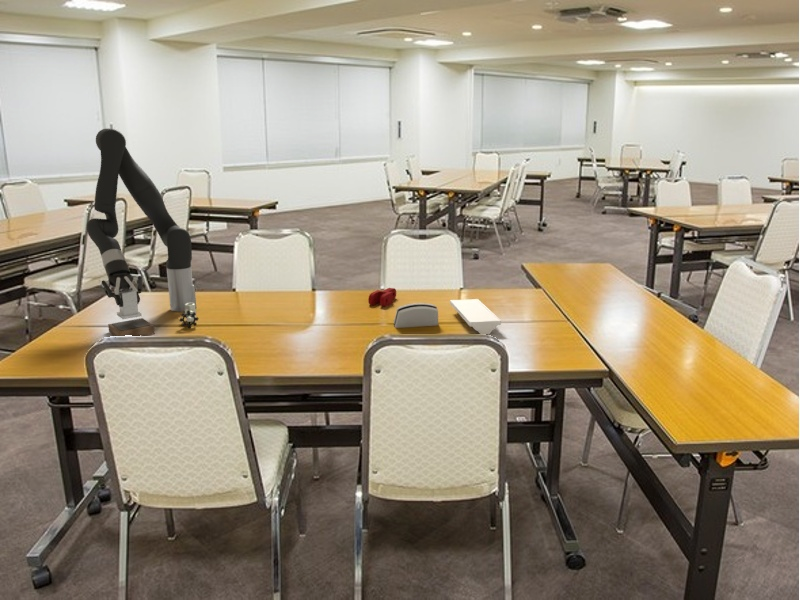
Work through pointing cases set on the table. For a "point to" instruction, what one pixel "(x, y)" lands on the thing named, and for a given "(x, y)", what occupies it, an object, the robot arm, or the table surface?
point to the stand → (131, 328)
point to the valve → (189, 315)
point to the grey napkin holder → (416, 315)
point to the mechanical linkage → (382, 297)
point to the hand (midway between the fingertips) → (129, 303)
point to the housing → (128, 304)
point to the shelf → (476, 315)
